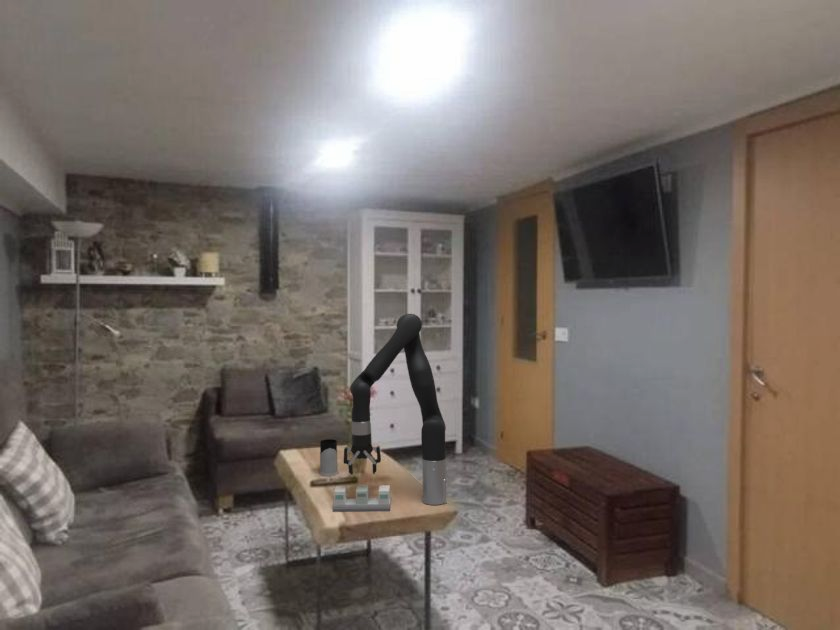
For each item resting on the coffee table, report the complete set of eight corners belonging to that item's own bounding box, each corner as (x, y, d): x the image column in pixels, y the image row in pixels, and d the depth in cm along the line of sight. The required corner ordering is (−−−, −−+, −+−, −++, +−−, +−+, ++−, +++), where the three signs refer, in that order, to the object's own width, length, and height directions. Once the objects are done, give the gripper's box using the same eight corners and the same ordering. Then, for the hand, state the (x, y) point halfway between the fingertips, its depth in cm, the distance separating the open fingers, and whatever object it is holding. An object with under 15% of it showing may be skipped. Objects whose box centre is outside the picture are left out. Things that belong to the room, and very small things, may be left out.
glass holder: (320, 477, 269) (320, 444, 269) (316, 468, 283) (316, 437, 282) (339, 475, 272) (339, 442, 271) (335, 466, 285) (334, 435, 285)
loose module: (368, 498, 235) (368, 485, 235) (367, 504, 228) (367, 491, 228) (357, 498, 235) (357, 485, 235) (355, 504, 228) (355, 491, 228)
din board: (391, 500, 238) (390, 483, 237) (389, 511, 226) (389, 493, 225) (336, 500, 237) (336, 484, 237) (332, 511, 225) (332, 494, 225)
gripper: (380, 429, 234) (381, 470, 235) (344, 430, 234) (345, 471, 234) (379, 433, 227) (380, 476, 227) (341, 434, 226) (343, 477, 227)
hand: (362, 473), depth 231 cm, fingers open, 8 cm apart
